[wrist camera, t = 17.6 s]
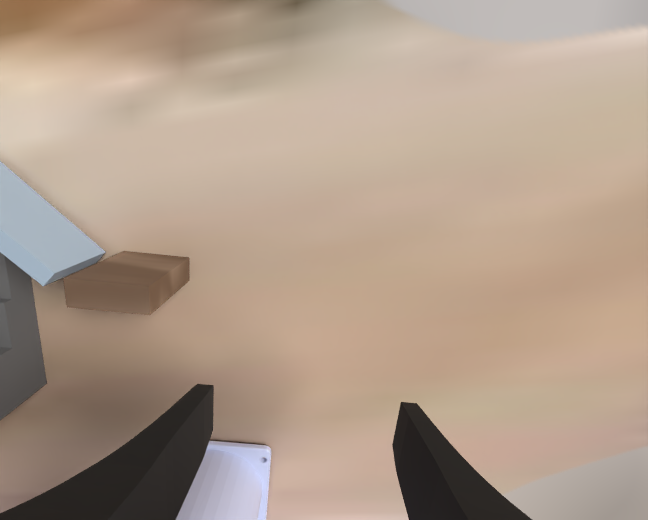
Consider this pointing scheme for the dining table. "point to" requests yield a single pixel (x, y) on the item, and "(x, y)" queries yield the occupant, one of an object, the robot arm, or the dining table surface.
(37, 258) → the door leaf
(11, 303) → the notched block
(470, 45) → the dining table surface
